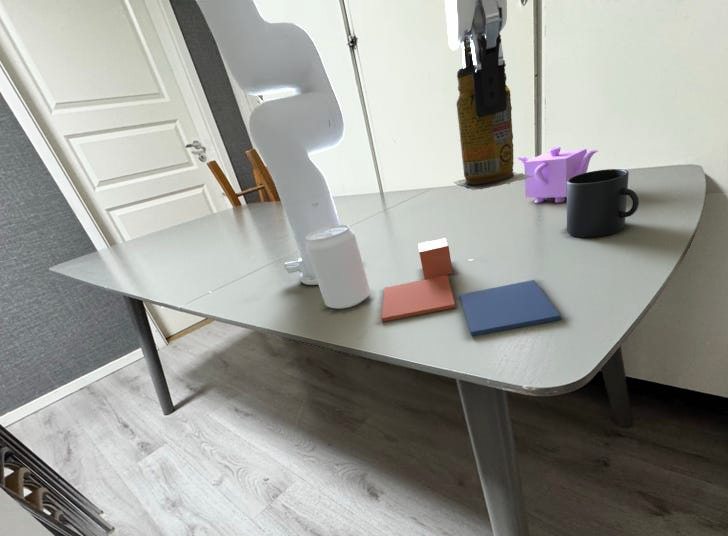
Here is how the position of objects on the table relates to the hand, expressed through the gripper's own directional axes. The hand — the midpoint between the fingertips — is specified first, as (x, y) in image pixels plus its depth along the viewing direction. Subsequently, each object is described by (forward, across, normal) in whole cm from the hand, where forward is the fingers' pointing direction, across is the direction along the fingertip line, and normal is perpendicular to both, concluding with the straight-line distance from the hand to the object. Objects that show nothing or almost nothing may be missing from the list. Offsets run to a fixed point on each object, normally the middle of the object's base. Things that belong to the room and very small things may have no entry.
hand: (485, 111), depth 46 cm
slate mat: (+23, +4, 0) cm, 24 cm away
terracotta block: (+23, -15, -8) cm, 29 cm away
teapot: (+23, -48, +23) cm, 58 cm away
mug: (+23, -19, +22) cm, 37 cm away
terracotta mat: (+23, -5, -12) cm, 27 cm away
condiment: (+8, +1, 0) cm, 8 cm away
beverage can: (+23, -10, -24) cm, 35 cm away
